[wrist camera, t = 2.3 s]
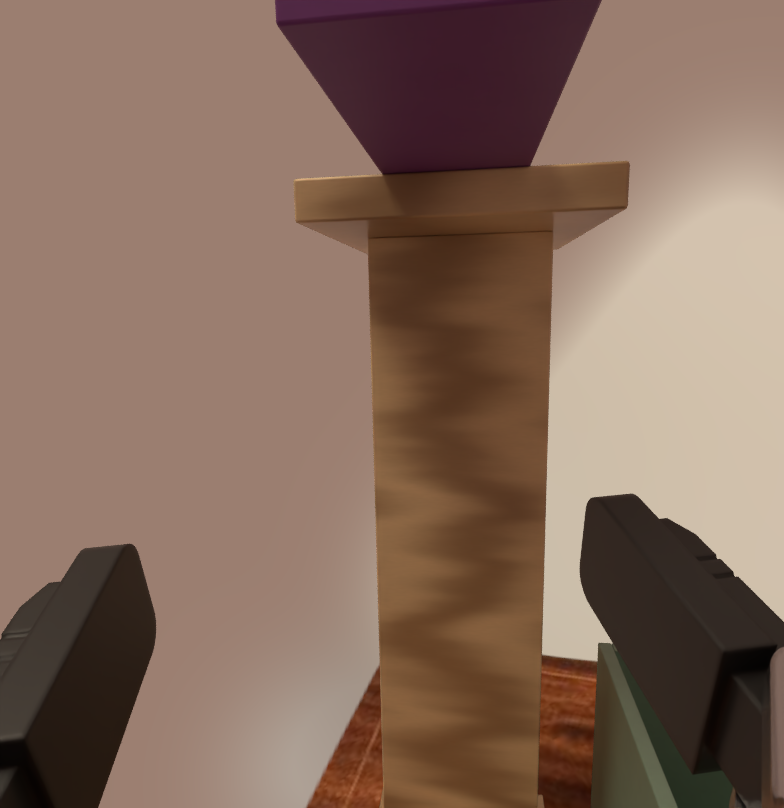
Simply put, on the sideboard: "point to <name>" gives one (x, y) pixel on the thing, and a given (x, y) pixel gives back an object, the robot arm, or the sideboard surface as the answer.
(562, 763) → the sideboard surface
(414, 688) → the stand
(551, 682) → the sideboard surface
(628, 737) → the trash bin
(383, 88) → the chocolate bar
